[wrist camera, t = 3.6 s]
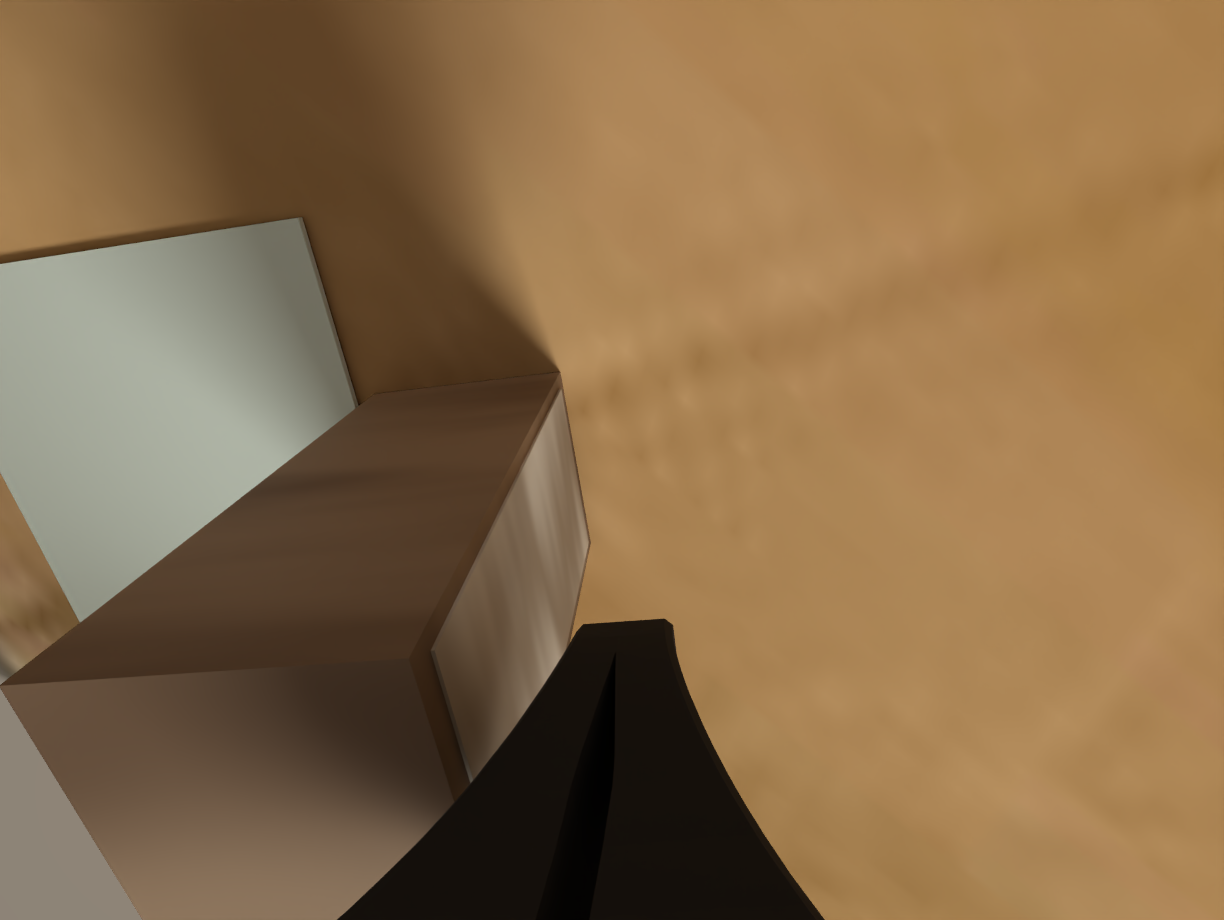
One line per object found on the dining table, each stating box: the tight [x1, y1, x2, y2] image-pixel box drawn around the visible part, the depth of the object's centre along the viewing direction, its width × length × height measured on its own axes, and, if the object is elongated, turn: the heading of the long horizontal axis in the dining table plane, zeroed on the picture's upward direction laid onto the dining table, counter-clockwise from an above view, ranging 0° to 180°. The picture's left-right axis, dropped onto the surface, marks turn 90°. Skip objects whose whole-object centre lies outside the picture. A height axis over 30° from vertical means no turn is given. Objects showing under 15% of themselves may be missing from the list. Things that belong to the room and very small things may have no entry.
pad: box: [0, 217, 358, 622], centre depth 20 cm, size 14×11×1 cm
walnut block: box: [0, 372, 591, 920], centre depth 14 cm, size 5×5×11 cm
